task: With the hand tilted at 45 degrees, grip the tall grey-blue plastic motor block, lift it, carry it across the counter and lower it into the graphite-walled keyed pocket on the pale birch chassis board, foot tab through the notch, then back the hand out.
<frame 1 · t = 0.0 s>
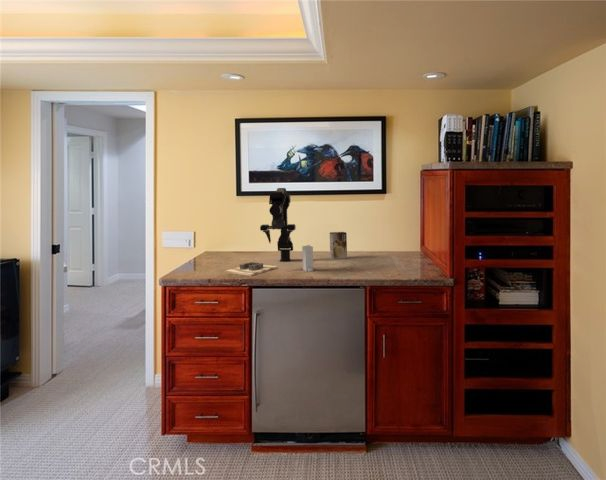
hand: (278, 243, 259), 15 cm above the countertop, tool pointing down, fingers open, 9 cm apart
chassis board: (251, 270, 261), on the countertop
motor block: (307, 270, 258), on the countertop
coffee box: (338, 258, 294), on the countertop
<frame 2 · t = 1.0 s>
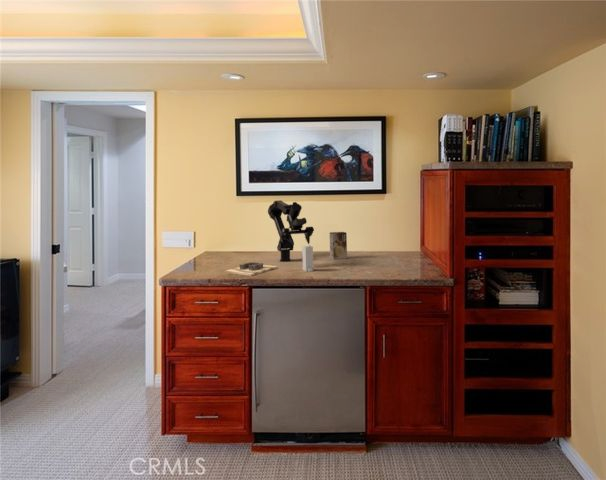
hand: (301, 244, 264), 13 cm above the countertop, tool tilted 45°, fingers open, 9 cm apart
nothing on the countertop moved.
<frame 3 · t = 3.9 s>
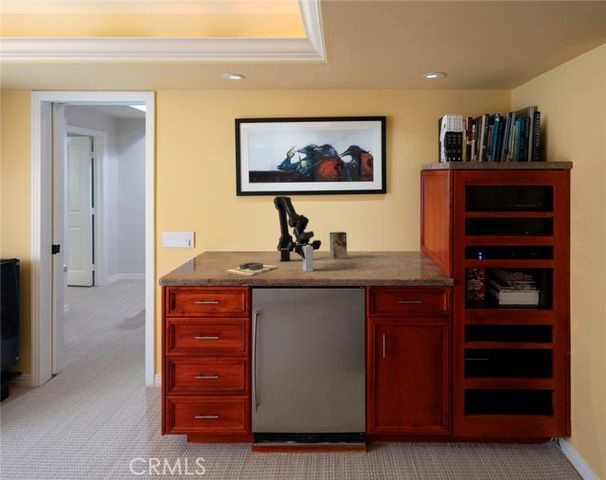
hand: (308, 258, 256), 7 cm above the countertop, tool tilted 45°, fingers closed on motor block, 4 cm apart
motor block: (307, 270, 258), on the countertop, touching gripper
everything else where it was.
when the fingers open (9 cm above the countertop, at t = 9.4 s): motor block drops 2 cm, resting on chassis board.
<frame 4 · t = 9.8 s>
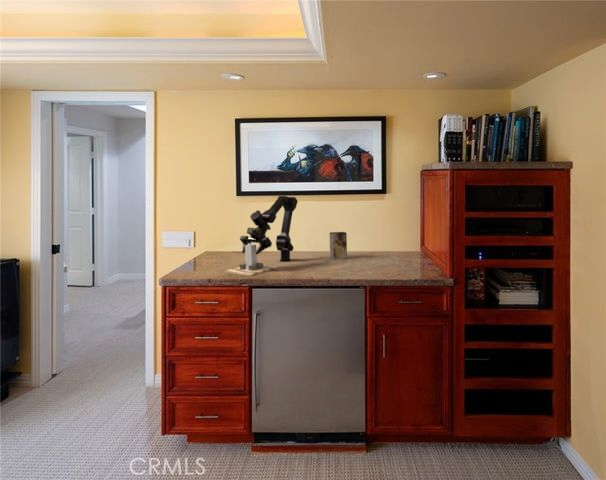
hand: (249, 253, 258), 10 cm above the countertop, tool tilted 45°, fingers open, 9 cm apart
motor block: (251, 268, 261), point 1 cm above the countertop, touching chassis board
everything else where it was.
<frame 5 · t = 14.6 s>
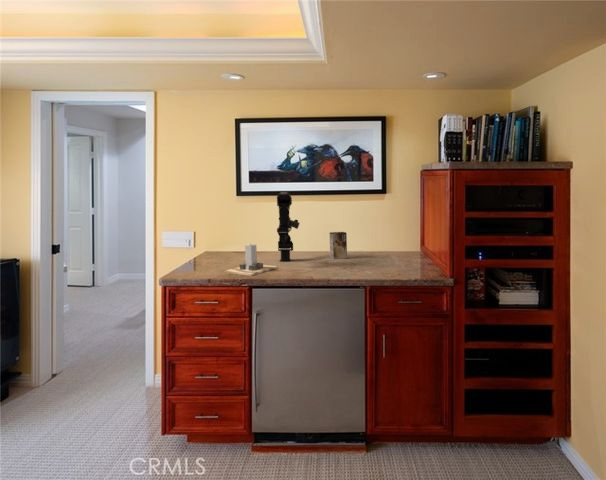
hand: (284, 243, 271), 13 cm above the countertop, tool pointing down, fingers open, 9 cm apart
nothing on the countertop moved.
at the end: motor block 0.1 cm off-centre on the chassis board, point 1.0 cm above the chassis board's base; motor block tilted 0°; the gripper is holding nothing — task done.
